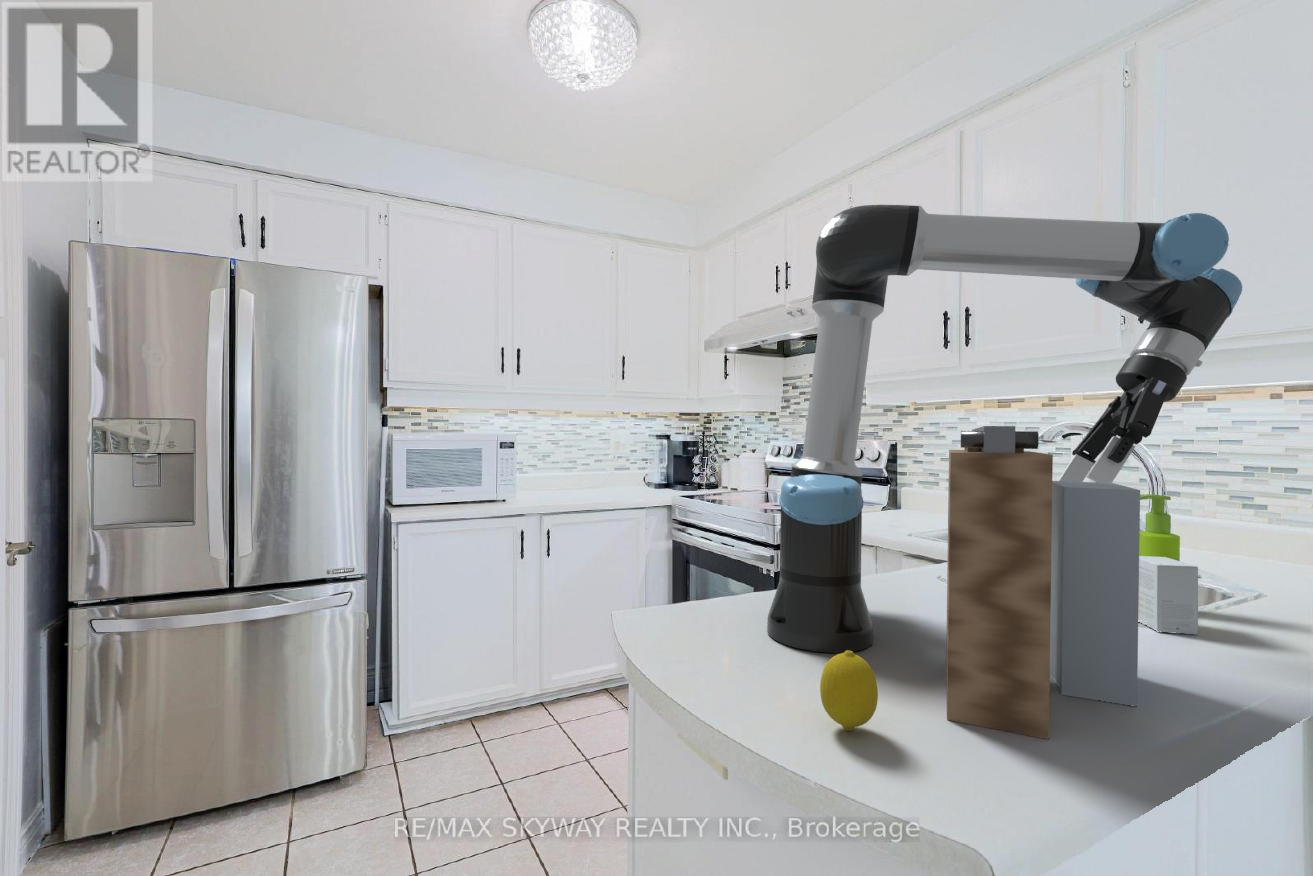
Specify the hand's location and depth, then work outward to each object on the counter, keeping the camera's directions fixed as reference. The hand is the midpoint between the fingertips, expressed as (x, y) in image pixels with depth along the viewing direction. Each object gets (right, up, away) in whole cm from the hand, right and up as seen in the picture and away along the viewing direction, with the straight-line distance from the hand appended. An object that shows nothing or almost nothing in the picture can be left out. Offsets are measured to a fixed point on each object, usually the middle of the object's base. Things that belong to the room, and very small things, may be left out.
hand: (1078, 488), depth 87 cm
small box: (+19, -23, +9) cm, 31 cm away
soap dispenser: (+26, -23, +19) cm, 39 cm away
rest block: (-8, -22, -14) cm, 28 cm away
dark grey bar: (-20, +6, -13) cm, 24 cm away
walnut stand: (-23, -22, -18) cm, 36 cm away
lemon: (-42, -22, -27) cm, 54 cm away
